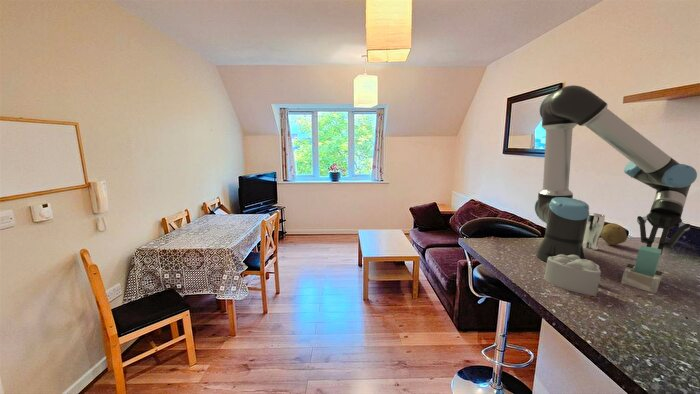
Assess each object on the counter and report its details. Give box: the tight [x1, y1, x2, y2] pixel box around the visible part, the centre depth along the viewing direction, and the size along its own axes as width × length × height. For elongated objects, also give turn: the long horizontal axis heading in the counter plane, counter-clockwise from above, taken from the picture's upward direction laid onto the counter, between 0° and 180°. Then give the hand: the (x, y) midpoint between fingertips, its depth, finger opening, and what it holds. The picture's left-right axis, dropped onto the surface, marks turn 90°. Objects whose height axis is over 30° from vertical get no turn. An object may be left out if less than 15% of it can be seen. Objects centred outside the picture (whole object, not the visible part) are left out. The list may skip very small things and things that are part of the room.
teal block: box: [633, 245, 662, 277], centre depth 91 cm, size 6×4×10 cm
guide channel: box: [620, 263, 663, 294], centre depth 89 cm, size 16×10×6 cm, turn 128°
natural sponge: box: [600, 222, 628, 246], centre depth 127 cm, size 9×9×10 cm
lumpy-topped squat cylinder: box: [543, 254, 602, 296], centre depth 89 cm, size 10×13×9 cm
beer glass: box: [583, 212, 606, 251], centre depth 122 cm, size 7×7×15 cm
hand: (650, 260), depth 94 cm, fingers closed
